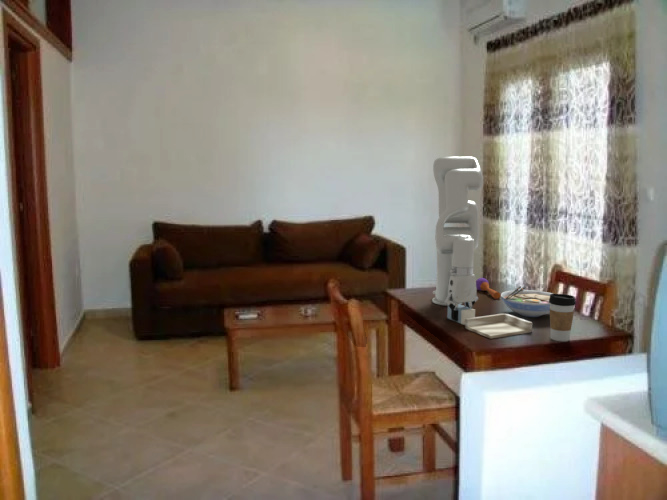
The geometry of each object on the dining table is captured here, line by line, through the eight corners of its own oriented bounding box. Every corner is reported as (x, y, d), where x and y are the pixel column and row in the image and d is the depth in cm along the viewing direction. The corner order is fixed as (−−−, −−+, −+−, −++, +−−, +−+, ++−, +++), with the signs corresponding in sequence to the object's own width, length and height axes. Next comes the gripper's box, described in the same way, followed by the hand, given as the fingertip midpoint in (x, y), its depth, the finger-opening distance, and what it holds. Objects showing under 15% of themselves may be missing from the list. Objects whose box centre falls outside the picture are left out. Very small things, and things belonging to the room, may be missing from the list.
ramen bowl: (553, 327, 223) (554, 304, 221) (490, 318, 235) (491, 296, 233) (568, 312, 243) (569, 291, 242) (510, 304, 256) (511, 284, 254)
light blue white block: (447, 318, 235) (447, 305, 234) (458, 316, 237) (458, 303, 236) (463, 324, 226) (464, 311, 225) (474, 323, 228) (475, 309, 227)
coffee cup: (542, 335, 212) (544, 292, 210) (566, 334, 213) (569, 292, 211) (553, 342, 204) (555, 298, 202) (578, 342, 205) (580, 297, 202)
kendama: (489, 290, 264) (472, 277, 283) (491, 303, 265) (474, 290, 284) (502, 287, 264) (485, 275, 284) (504, 300, 266) (486, 287, 285)
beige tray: (464, 328, 221) (465, 318, 220) (504, 322, 229) (505, 313, 228) (490, 338, 209) (491, 328, 208) (531, 332, 216) (532, 322, 216)
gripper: (449, 275, 221) (448, 324, 224) (487, 271, 229) (485, 319, 231) (437, 271, 228) (436, 319, 231) (474, 267, 235) (473, 314, 238)
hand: (460, 318), depth 231 cm, fingers closed on light blue white block, 5 cm apart
